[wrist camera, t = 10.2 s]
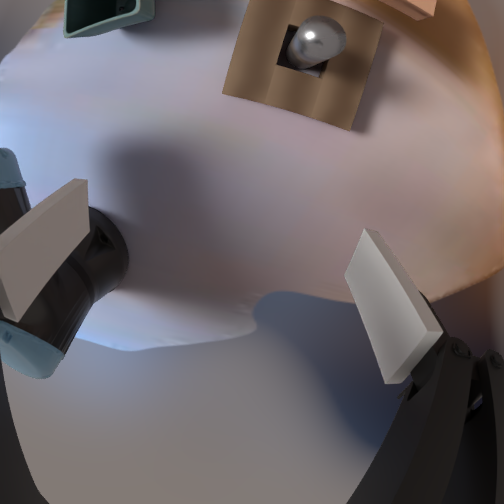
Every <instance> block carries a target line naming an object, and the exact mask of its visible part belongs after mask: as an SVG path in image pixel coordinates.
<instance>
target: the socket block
mask: <svg viewBox="0 0 504 504" xmlns="http://www.w3.org/2000/svg"><path fill="white" fill-rule="evenodd" d="M318 15H320V16H327V17H330V18H332V19H334V20H335V21H337V22H338V23H339V24H340V25H341V26H342V27H343V29H344V31H345V33H346V39H347V41H346V46H345V48H344V50H343V51H342V52H341V53H340V54H338V55H337V56H334V57H332V58H330V59H328V60H325V61H324V62H323V65H322V68H321V72H320V75H319V78H318V77H315V76H312V75H309V74H306V73H303V72H299V71H296V70H293V69H289V68H286V67H282V66H279V65H276V63H277V60H278V56H279V53H280V50H281V47H282V43H283V40H284V37H285V34H286V31H287V30H291V31H294V32H297V30H298V28H299V27H300V25H301V24H302V22H303V21H304V20H306V19H307V18H309V17H312V16H318ZM383 25H384V23H383V22H381V21H379V20H377V19H375V18H372V17H370V16H368V15H366V14H363V13H361V12H359V11H356V10H354V9H352V8H349V7H347V6H344V5H341V4H339V3H336V2H333V1H330V0H250V1H249V4H248V7H247V10H246V13H245V16H244V19H243V22H242V25H241V29H240V32H239V35H238V38H237V42H236V45H235V48H234V52H233V55H232V59H231V62H230V65H229V69H228V73H227V76H226V80H225V84H224V87H223V91H222V94H225V95H230V96H234V97H239V98H243V99H247V100H251V101H255V102H259V103H263V104H267V105H270V106H274V107H278V108H281V109H285V110H288V111H291V112H295V113H298V114H301V115H304V116H307V117H310V118H313V119H316V120H319V121H322V122H325V123H328V124H331V125H334V126H336V127H339V128H342V129H344V130H347V131H350V129H351V126H352V123H353V120H354V117H355V114H356V112H357V109H358V106H359V103H360V100H361V97H362V94H363V90H364V87H365V84H366V81H367V78H368V75H369V72H370V69H371V65H372V62H373V59H374V56H375V52H376V49H377V45H378V42H379V39H380V35H381V32H382V28H383Z"/></svg>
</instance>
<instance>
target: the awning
mask: <svg viewBox="0 0 504 504" xmlns="http://www.w3.org/2000/svg"><path fill="white" fill-rule="evenodd" d="M379 1H381V2H383V3H385V4H387V5H389V6H391V7H393V8H395V9H397V10H399V11H401V12H402V13H404V14H406V15H408V16H410V17H411V18H413V19H415V20H417V21H419V20H422V19H426V18H429V17H432V16H434V11H435V6H436V1H437V0H379Z"/></svg>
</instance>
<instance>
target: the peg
mask: <svg viewBox="0 0 504 504" xmlns="http://www.w3.org/2000/svg"><path fill="white" fill-rule="evenodd" d="M346 41H347V39H346V33H345V31H344V29H343V27H342V26H341V25H340V24H339V23H338V22H337V21H335V20H334V19H332V18H330V17H327V16H320V15H318V16H312V17H309V18H307V19H306V20H304V21H303V22H302V24H301V25H300V27H299V28H298V30H297V32H296V34H295V35H294V37H293V39H292V41H291V42H290V44H289V46H288V48H287V50H286V57H287V59H288V61H289V63H290V64H292V65H293V66H294V67H296V68H300V69H307V68H310V67H312V66H314V65H316V64H319V63H321V62H323V61H325V60H328V59H330V58H332V57H334V56H337V55H338V54H340V53H341V52H342V51H343V50H344V48H345V46H346Z"/></svg>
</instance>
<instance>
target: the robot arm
mask: <svg viewBox="0 0 504 504" xmlns="http://www.w3.org/2000/svg"><path fill="white" fill-rule="evenodd" d="M25 186H26V182H25V181H24V180H23V178H22V175H21V172H20V169H19V165H18V162H17V158H16V156H15V154H14V153H13V152H12V151H11V150H10V149H8V148H0V504H49V503H48V502H47V501H46V500H45V498H44V497H43V496H42V495H41V494H40V492H39V491H38V489H37V487H36V485H35V483H34V481H33V478H32V476H31V474H30V471H29V468H28V466H27V463H26V461H25V458H24V455H23V452H22V449H21V446H20V443H19V440H18V436H17V433H16V429H15V426H14V423H13V419H12V415H11V410H10V406H9V402H8V397H7V393H6V387H5V381H4V376H3V369H2V363H1V360H2V361H3V362H4V363H6V364H7V365H9V366H10V367H12V368H13V369H15V370H17V371H18V372H20V373H22V374H24V375H27V376H29V377H32V378H36V379H46V378H48V377H50V376H51V375H52V374H53V373H54V371H55V369H56V368H57V366H58V365H59V363H60V361H61V360H63V358H64V357H65V354H66V352H67V350H68V348H69V346H70V344H71V342H72V341H73V339H74V337H75V335H76V333H77V331H78V329H79V328H80V326H81V324H82V322H83V321H84V319H85V317H86V315H87V313H88V312H89V310H90V308H91V307H92V305H93V304H94V303H95V302H96V301H98V300H99V299H101V298H102V297H103V296H105V295H106V294H107V293H109V292H111V291H112V290H114V289H115V288H116V287H117V286H118V285H119V283H120V282H121V280H122V279H123V277H124V275H125V273H126V271H127V268H128V252H127V248H126V245H125V242H124V240H123V238H122V236H121V234H120V232H119V231H118V229H117V228H116V227H115V226H114V224H113V223H112V222H111V221H110V220H109V219H108V218H107V217H105V216H104V215H103V214H101V213H100V212H98V211H97V210H95V209H92V208H90V207H88V181H87V180H85V179H75V178H74V179H73V180H71V181H70V182H68V183H67V184H66V185H64V186H63V187H61V188H60V189H58V190H57V191H55V192H54V193H53V194H51V195H50V196H48V197H47V198H46V199H44V200H43V201H42V202H40V203H39V204H38V205H36V206H35V207H34V208H32V209H31V206H30V203H29V199H28V196H27V193H26V189H25ZM344 276H345V279H346V281H347V283H348V286H349V288H350V291H351V293H352V295H353V298H354V300H355V303H356V305H357V308H358V310H359V313H360V316H361V318H362V321H363V323H364V326H365V329H366V331H367V334H368V337H369V339H370V342H371V344H372V347H373V350H374V353H375V356H376V359H377V361H378V364H379V367H380V370H381V373H382V376H383V379H384V382H385V384H395V383H402V382H403V381H404V379H405V378H406V377H407V376H408V375H409V374H410V373H411V376H412V378H413V381H412V382H411V383H410V384H409V385H408V386H407V387H406V388H405V390H403V391H402V393H401V394H399V396H398V397H397V398H398V399H400V398H401V397H402V396H403V395H404V398H403V400H402V402H401V404H400V407H399V409H398V411H397V413H396V416H395V418H394V420H393V422H392V424H391V427H390V429H389V431H388V433H387V435H386V437H385V439H384V441H383V443H382V445H381V447H380V449H379V451H378V452H377V454H376V456H375V458H374V460H373V461H372V463H371V465H370V467H369V469H368V470H367V472H366V474H365V475H364V477H363V479H362V480H361V482H360V484H359V485H358V487H357V488H356V490H355V491H354V493H353V494H352V496H351V497H350V499H349V500H348V502H347V504H504V360H503V358H502V356H501V355H499V353H498V352H496V351H494V350H491V349H489V350H487V351H486V352H485V353H484V354H483V355H482V357H481V358H479V357H476V356H473V355H472V352H471V350H470V348H469V347H468V346H467V344H465V343H464V342H463V341H462V340H460V339H458V338H455V337H451V338H450V336H449V335H448V333H447V331H446V330H445V328H444V326H443V324H442V323H441V321H440V320H439V318H438V316H437V315H435V314H436V313H435V311H434V309H433V308H431V305H430V303H429V301H428V300H427V298H426V297H425V296H424V295H423V294H422V293H421V292H420V291H419V290H418V289H417V288H416V286H415V284H414V283H413V281H412V280H411V278H410V277H409V275H408V274H407V272H406V271H405V270H404V268H403V267H402V265H401V264H400V262H399V261H398V259H397V258H396V257H395V255H394V254H393V252H392V251H391V249H390V248H389V247H388V245H387V244H386V243H385V241H384V240H383V238H382V237H381V236H380V234H379V233H378V232H377V231H373V230H368V229H364V230H363V232H362V235H361V237H360V240H359V242H358V245H357V247H356V249H355V252H354V254H353V256H352V259H351V261H350V263H349V266H348V268H347V270H346V272H345V275H344ZM481 397H482V400H483V403H482V404H481V405H480V406H479V407H478V408H477V409H474V404H475V403H476V402H477V401H478V400H479V399H480V398H481Z"/></svg>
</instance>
